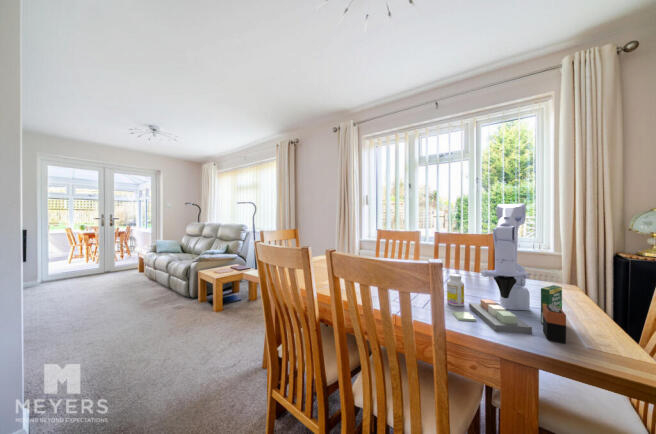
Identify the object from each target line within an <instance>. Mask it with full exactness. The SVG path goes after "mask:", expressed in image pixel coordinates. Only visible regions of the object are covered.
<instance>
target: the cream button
mask: <svg viewBox="0 0 656 434" xmlns="http://www.w3.org/2000/svg"><path fill="white" fill-rule="evenodd" d="M506 310H507V309H505V308H503V307H502V306H500V305H499V304H497V305H488V312H489V313H490V314H491V315H492V316H497V311H506Z"/></svg>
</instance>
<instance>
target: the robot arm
mask: <svg viewBox="0 0 656 434" xmlns="http://www.w3.org/2000/svg"><path fill="white" fill-rule="evenodd" d="M526 205H527V204H525V203H523V202H522V203H502V204H501V203H498V204H497V205H496V209H495V210H496V212H495V213H496V217H497V218H496V219H497V224H496V226H495V227H493V229H492V238H493V247H494V269H492V270H491V269H490V270H489V269H487V270H481V271H480V273H481V276H482V277H483V278H487V277H489V278H493V279H494V281H495V283H496V285H497V287H498V290H499V301H496V300H495V303H497V305H500V306H502V307H503V308H505V309H506V310H512V311H514V310H515V311H532V309H531V307H530V306H531V305H530V291H529V289H528V287H526V283H527V282H526V279H530V273H529V272H526V269H525V267H523V266H522V265H521V264H520V263H518V240H519V239H518V236H519V233H518V231H519V228H520V226H522V225H524V224H525V223H526V217H527V215H526V214H527V210H526V209H527V208H526V207H527V206H526Z"/></svg>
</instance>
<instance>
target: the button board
mask: <svg viewBox="0 0 656 434" xmlns="http://www.w3.org/2000/svg"><path fill="white" fill-rule="evenodd" d="M468 308H469V309H470V310H471V311H472V312H473V313H474V314H475V315H477V317H478V318H480V319H481V320H482V321H483V322H485V323H486V324H487V325H488V326H489V327H490V328H491V329H492V330H494V331H495V332H503V333H505V332H506V333H517V334H518V333H522V334H523V333H524V334H532V333H533V327H532V326H530V325H529V324H528V323H526V322H524V321H523V320H522V319H520V318H519V317H518V316H516V324H503V323H501V322H500V321H499V320H498V319H497V316H492V315H491V314H490V313H489V312H488V310H485V309H483V308H482V307H481V303H473V302H472V303H471V302H469V303H468ZM506 311H508V309H506Z"/></svg>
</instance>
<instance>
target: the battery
mask: <svg viewBox="0 0 656 434" xmlns="http://www.w3.org/2000/svg"><path fill="white" fill-rule="evenodd" d="M542 331H543V334H544V337H545V338H546V340H548V341H550V342H555V343H559V344H560V343H561V344H564V345H566V343H567V314H566V313H565V312H564V311H563V308H562V309H561V308H559V307H556V305H553V304H549V306H547V305H543V324H542Z"/></svg>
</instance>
